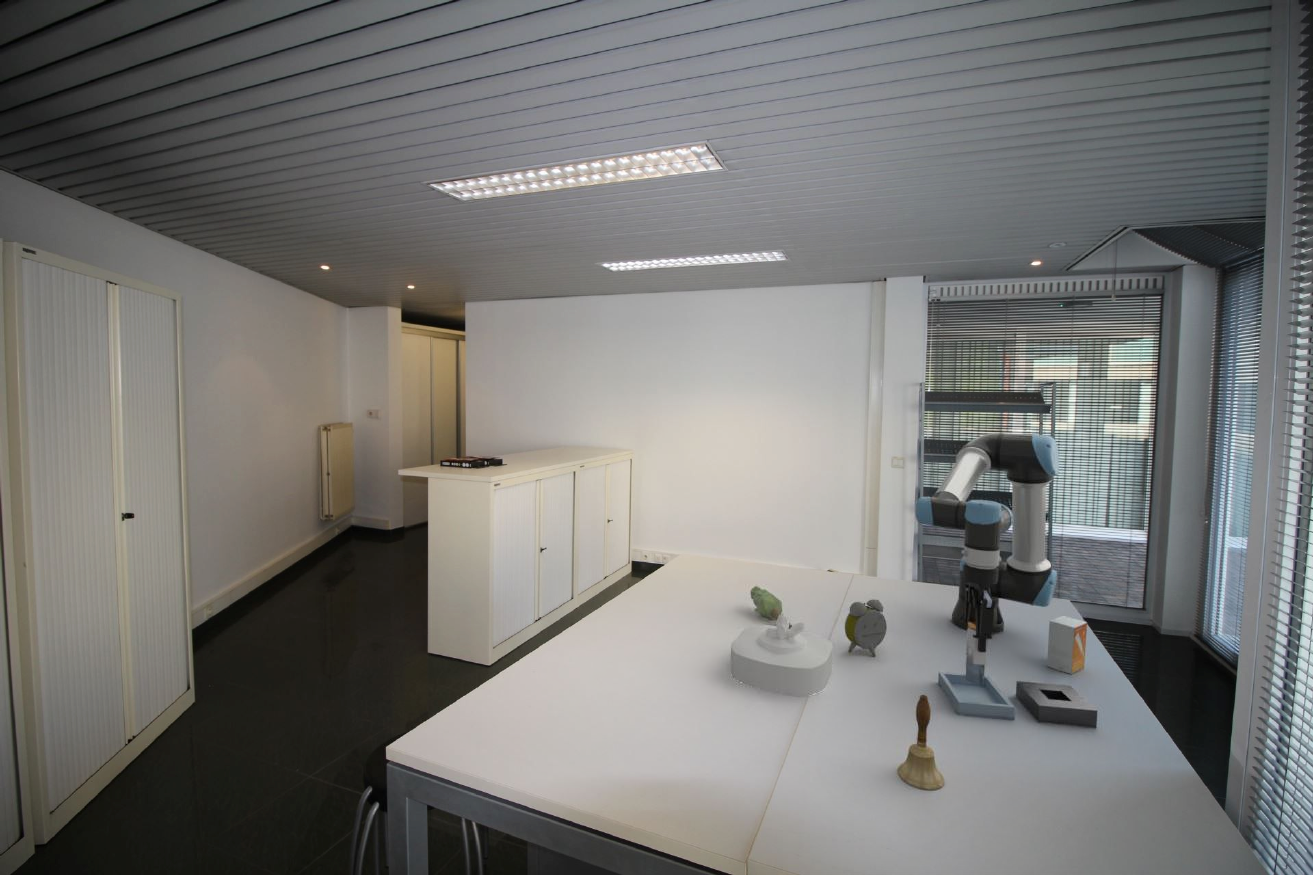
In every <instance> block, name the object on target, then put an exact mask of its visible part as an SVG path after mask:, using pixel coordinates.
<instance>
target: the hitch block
mask: <svg viewBox="0 0 1313 875" xmlns="http://www.w3.org/2000/svg"><path fill="white" fill-rule="evenodd" d="M1015 698H1016V699H1017V701H1019V702H1020V704H1021V705H1022V706H1023V707H1024V708H1025V709H1026V710H1027V711H1028V712H1029V713H1030V715H1031V716H1032V717H1033V718H1034V720H1035V721H1036V722H1037V723H1041V724H1051V725H1061V726H1063V725H1064V726H1072V727H1073V726H1074V727H1083V728H1093V729H1095V728H1097V724H1098V709H1096V708H1095V707H1094V706H1093V705H1092V704H1091V703H1090V702H1089V701H1087V700H1086V699H1085V698H1084V697H1083V696H1082V695H1081V694H1080V693H1079V692H1077V690H1075V689H1074V688H1073V687H1072V686H1071V685H1066V684H1054V683H1042V682H1034V681H1033V682H1032V681H1020V680H1016V687H1015Z"/></svg>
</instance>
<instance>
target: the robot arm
mask: <svg viewBox="0 0 1313 875" xmlns="http://www.w3.org/2000/svg"><path fill="white" fill-rule="evenodd" d="M992 471H995V472H1003V473H1006V480H1007V481H1008V482H1009V483H1011V484H1012V485H1011V486H1012V487H1011V490H1012V496H1011V502H1012V503H1011V504H1012V508H1011V509H1012V511H1011V509H1010V508H1009V507H1008V506H1007V505H1005V504H1003V503H999V502H997V501H995V500H994V501H993V500H987V499H986V500H984V499H971V500H969V501H967V499H968V498H969V496H970V494H971V493H972V491H973V490H974V488H975V486H976V484H977V483H978V481H979V479H980V478H981V476H984V475H985V474H986V473H988V472H992ZM1059 472H1060V453H1059V448H1058V444H1057V441H1056V440H1055V439H1054V437H1053V436H1050V435H1045V434H1044V435H1043V434H1037V433H1034V434H1033V433H1002V432H993V433H992V432H991V433H987V434H984V435H981V436H979V437H976V438H974V439H973V440H970V441H969V442H967V443H966V444H965V445H963V447H961V449H960V450H959V451H958V453H957V454H956V457H955V463H954V465H953V466H952V468H951V470H950V471H949V472H948V474H947V476H946V477H945V478H944V480H943V481H942V483H941V484H940V486H939V487H938V488H937V490H936V492H935V493H934V495H933V496H931V497H930V496H922V497H919V498H918V499H917V500H916V501H917V502H916V505H915V510H914V511H915V512H914V513H915V519H916V521H917V522H918V523H919V524H921V525H924V526H925V525H926V526H931V527H937V528H945V529H952V530H958V531H964V540H963V541H964V544H963V546H964V547H963V550H961V554H962V555H963V556H962V557H961V558H960V563H959V568H958V570H959V575H958V577H959V578H958V579H959V581H958V599H957V601H956V604H955V606H954V608H953V611H952V612H951V622H952V624H954V625H955V626H957V627H959V628H961V629H964V630H966V637H967V636H968V622H969V621H976V635H973V638H974V648H973V663H974V664H981V665H985V666H986V665H987V654H988V651H987V650H988V640H992V639H993V634H997V633H1002V632H1003V631H1004V629H1005V621H1004V619H1003V618H1004V617H1003V615H1002V611H1001V609H1000V604H999V603H1000V599H1002V600H1006V601H1011V602H1015V603H1016V602H1017V603H1021V604H1026V605H1030V606H1035V607H1042V608H1045V607H1046V608H1047V607H1048V606H1049V605H1050V604H1051V602H1052V599H1053V596H1054V593H1055V589H1056V585H1057V582H1058V581H1057V580H1058V571H1057V570H1055V569H1052V563H1051V562H1050V561H1049V560H1048V559H1047V558H1046V524H1047V523H1046V520H1047V519H1046V515H1047V513H1046V510H1047V508H1046V507H1047V485H1048V484H1050V483H1051V482H1052V481H1053V477H1056V476H1057V475H1058V474H1059ZM1011 527H1012V530H1011V531H1012V534H1011V536H1012V538H1011V539H1012V543H1011V544H1012V547H1011V548H1012V549H1011V550H1012V551H1011V552H1012V553H1011V554H1012V555H1010V556H1009V557H1007V558H1006V561H1002V557H1001V556H1000V553H1001V550H1000V549H1001V548H1000V542H1001V535H1002V534H1004V533H1006V532H1007V531H1009V529H1010V528H1011ZM965 650H966V652H965V655H966V656H967V645H966V648H965Z"/></svg>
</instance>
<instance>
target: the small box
mask: <svg viewBox="0 0 1313 875" xmlns="http://www.w3.org/2000/svg"><path fill="white" fill-rule="evenodd" d="M1048 626H1049V627H1048V640H1047V641H1048V644H1047V657H1046V658H1047V660H1046V666H1047V667H1050V668H1052V669H1055V670H1057V671H1060V672H1063V673H1066V674H1068V675H1073V674H1075V673H1076V672H1078V671H1080V670H1082V669H1084V668H1085V660H1086V659H1085V658H1086V647H1087V646H1086V645H1087V632H1088V622H1087V621H1084V620H1080V619H1076V618H1073V617H1069V616H1065V615H1060V616H1058V617H1055V618H1053V619H1052V620H1049V624H1048Z"/></svg>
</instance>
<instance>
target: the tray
mask: <svg viewBox="0 0 1313 875" xmlns="http://www.w3.org/2000/svg"><path fill="white" fill-rule="evenodd" d="M937 674H938V675H937V676H938V678H937V680H938V681H937V683H938V686H940V688H941V690H942V691H943V693H944V694H945V696H946V697H948V698H947V699H948V701H949V702H950V703H951V705H952V707H953V709H954V710H955V711H956V713H957V715H958V716H965V717H967V716H968V717H977V718H988V719H998V720H1009V721H1015V718H1016V717H1015V715H1016V707H1015V705H1014V704H1013V703H1012V702H1011V701H1010V699H1009V698H1008V697H1007V695H1005V693H1003V691H1002V690H1001V689H1000V688H999V686H998V685H997V684H996V683H995V681H994V680H993V679H992V678H991V677H990V676H989V675H984V683H983V684H974V683H971V682H968V681H967V680H966V679H965V677H966V673H960V672H959V673H957V672H949V671H947V672H946V671H938V673H937Z"/></svg>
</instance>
